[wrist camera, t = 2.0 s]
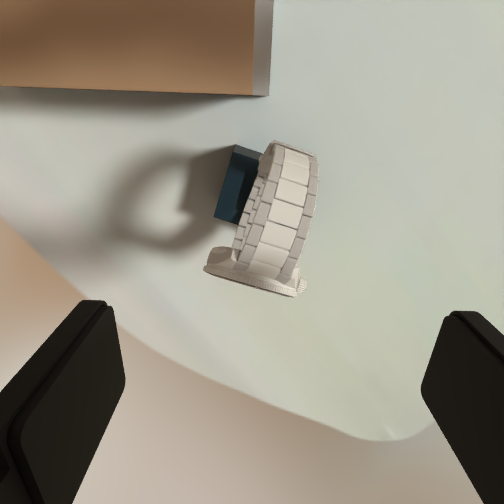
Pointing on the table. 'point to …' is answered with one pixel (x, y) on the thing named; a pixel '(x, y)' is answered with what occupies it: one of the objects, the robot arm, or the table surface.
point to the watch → (266, 217)
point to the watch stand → (138, 45)
